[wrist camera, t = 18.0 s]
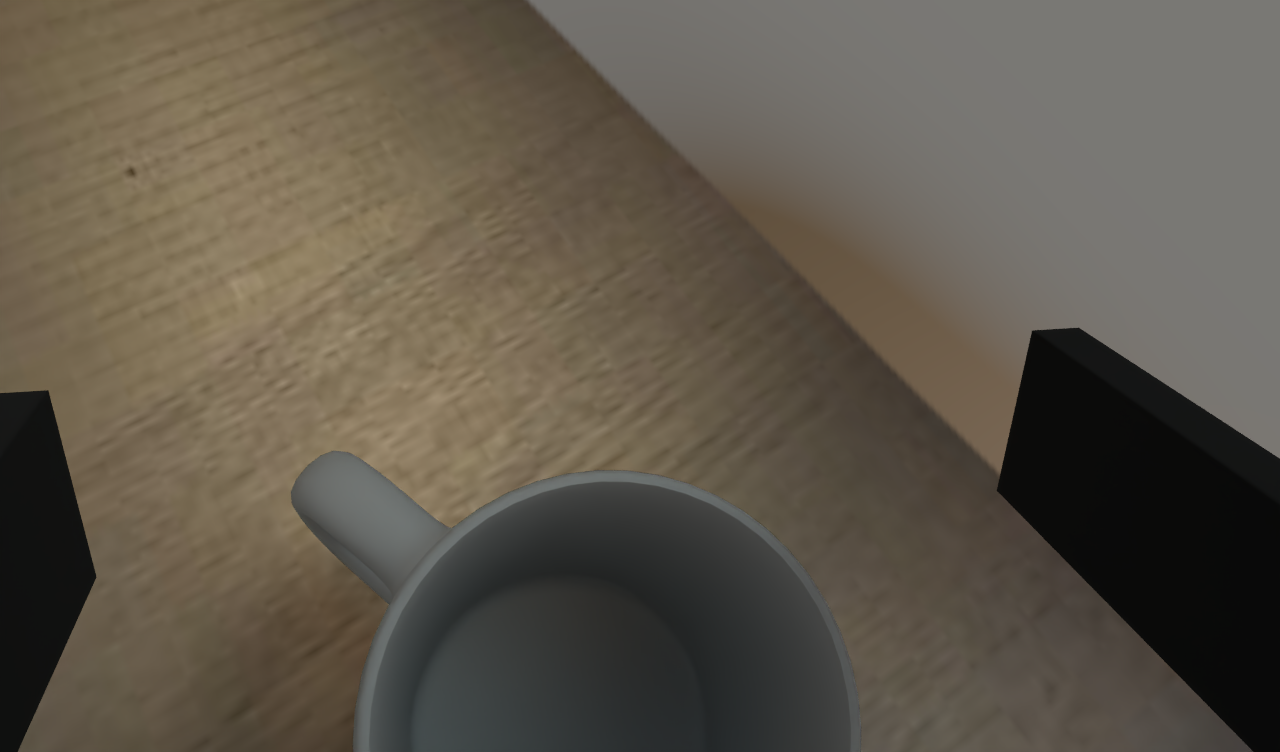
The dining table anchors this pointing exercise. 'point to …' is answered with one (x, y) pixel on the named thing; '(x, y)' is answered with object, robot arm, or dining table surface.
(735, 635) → the mug
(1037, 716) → the dining table surface
